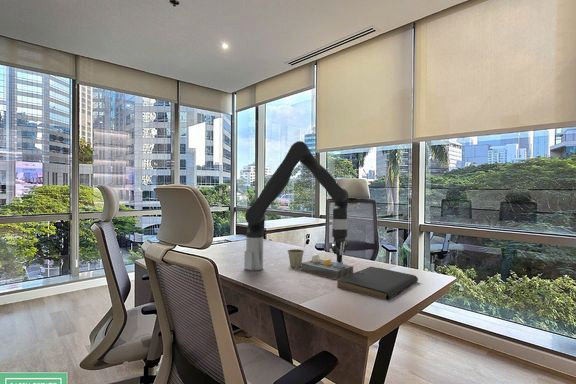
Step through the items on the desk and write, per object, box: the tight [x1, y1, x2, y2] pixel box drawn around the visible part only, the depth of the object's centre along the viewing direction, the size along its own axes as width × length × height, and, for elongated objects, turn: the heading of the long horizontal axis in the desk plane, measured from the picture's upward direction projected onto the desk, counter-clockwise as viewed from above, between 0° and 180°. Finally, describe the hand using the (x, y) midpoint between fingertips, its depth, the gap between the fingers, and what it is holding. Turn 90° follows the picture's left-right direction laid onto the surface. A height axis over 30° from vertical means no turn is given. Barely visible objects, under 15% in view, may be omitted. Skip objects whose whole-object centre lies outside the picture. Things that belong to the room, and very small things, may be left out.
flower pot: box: [287, 248, 305, 268], centre depth 169 cm, size 9×9×9 cm
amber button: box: [322, 258, 332, 266], centre depth 157 cm, size 4×4×5 cm
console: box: [300, 258, 354, 280], centre depth 157 cm, size 14×23×4 cm, turn 47°
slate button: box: [335, 260, 344, 269], centre depth 152 cm, size 4×4×5 cm
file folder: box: [336, 266, 419, 301], centre depth 138 cm, size 33×4×24 cm
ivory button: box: [311, 253, 320, 264], centre depth 162 cm, size 4×4×5 cm
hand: (339, 262), depth 152 cm, fingers closed
